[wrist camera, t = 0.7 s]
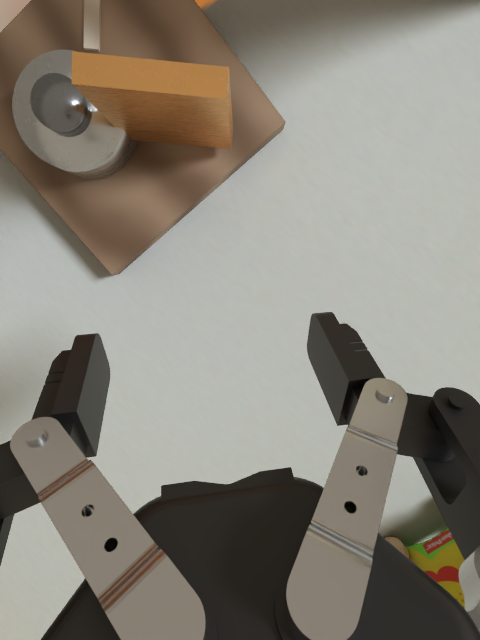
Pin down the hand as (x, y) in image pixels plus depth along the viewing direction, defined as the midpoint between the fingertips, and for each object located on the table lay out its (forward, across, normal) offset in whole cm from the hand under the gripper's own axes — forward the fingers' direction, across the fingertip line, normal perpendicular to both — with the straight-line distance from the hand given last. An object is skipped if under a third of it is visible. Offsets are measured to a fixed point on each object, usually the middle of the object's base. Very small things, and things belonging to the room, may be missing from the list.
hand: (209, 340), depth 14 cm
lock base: (+27, +5, -4) cm, 28 cm away
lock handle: (+24, +4, -3) cm, 25 cm away
